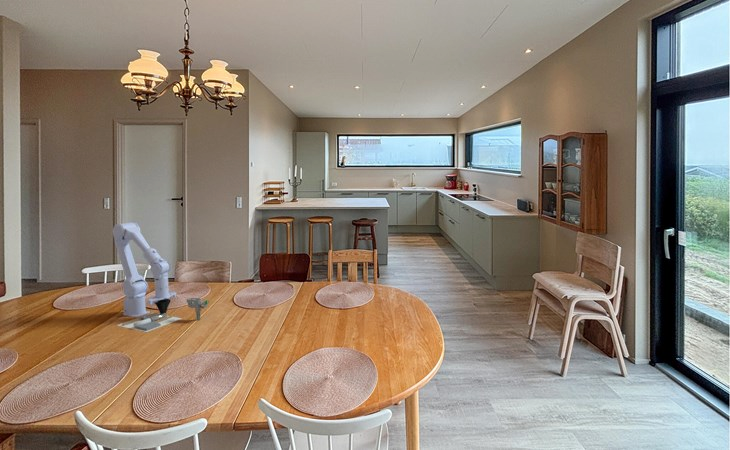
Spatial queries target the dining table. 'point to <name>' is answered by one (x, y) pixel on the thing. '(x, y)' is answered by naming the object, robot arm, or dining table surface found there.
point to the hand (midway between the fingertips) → (163, 315)
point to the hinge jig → (148, 323)
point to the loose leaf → (155, 316)
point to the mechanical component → (197, 305)
